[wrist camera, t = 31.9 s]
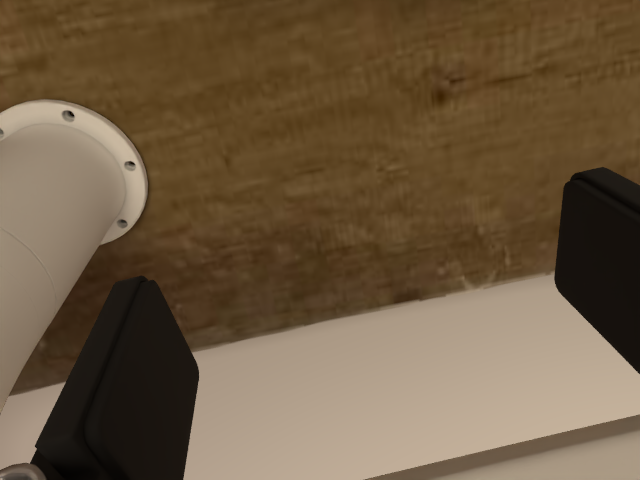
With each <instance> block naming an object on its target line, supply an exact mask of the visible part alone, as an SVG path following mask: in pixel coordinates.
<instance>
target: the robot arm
mask: <svg viewBox="0 0 640 480" xmlns="http://www.w3.org/2000/svg"><path fill="white" fill-rule="evenodd" d="M69 111H71V112H72V113H73V114H74V116H71V115H70V113H69ZM0 129H1V130H2V131H3V132H2V131H1V130H0V414H1V411H2V409H3V407H4V405H5V402H6V400H7V398H8V396H9V394H10V392H11V390H12V388H13V386H14V384H15V382H16V380H17V378H18V376H19V374H20V372H21V371H22V369H23V367H24V365H25V364H26V362H27V360H28V359H29V357H30V355H31V353H32V352H33V350H34V348H35V347H36V345H37V344H38V342H39V340H40V339H41V337H42V335H43V334H44V332H45V331H46V329H47V327H48V326H49V325H50V323H51V322H52V320H53V318H54V317H55V315H56V314H57V312H58V310H59V309H60V307H61V306H62V304H63V302H64V301H65V299H66V298H67V296H68V294H69V293H70V291H71V290H72V288H73V286H74V285H75V283H76V281H77V280H78V278H79V277H80V275H81V273H82V272H83V270H84V269H85V267H86V265H87V264H88V262H89V261H90V259H91V257H92V256H93V254H94V253H95V251H96V249H97V248H98V246H99V245H102V244H105V243H108V242H111V241H113V240H115V239H117V238H119V237H120V236H122V235H124V234H125V233H126V232H127V231H128V230H129V229H131V228H132V227H133V225H134V224H135V223H136V221H137V220H138V218H139V217H140V215H141V213H142V211H143V209H144V207H145V203H146V199H147V195H148V180H147V174H146V169H145V167H144V164H143V161H142V159H141V156H140V155H139V153H138V151H137V150H136V148H135V146H134V145H133V143H132V142H131V141H130V140H129V139H128V137H127V136H126V135H125V134H124V133H123V132H122V131H121V130H120V129H119V128H118V127H116V126H115V125H114V124H113V123H112V122H111V121H109V120H108V119H106V118H105V117H103V116H101V115H100V114H98V113H96V112H95V111H93V110H90V109H88V108H85V107H83V106H80V105H78V104H74V103H70V102H65V101H61V100H47V99H42V100H34V101H27V102H24V103H21V104H18V105H15V106H13V107H11V108H9V109H7V110H5V111H3V112H1V113H0ZM130 161H132V162H134V164H135V165H132V164H131V163H130ZM122 219H123V220H125V221H123V220H122ZM555 284H556V287H557V289H558V291H559V292H560V293H561V295H562V296H563V297H565V299H566V300H567V301H568V302H569V303H570V304H571V305H572V306H573V307H574V308H575V309H576V310H577V311H578V312H579V313H580V314H581V315H582V316H583V317H584V318H585V319H586V320H587V321H588V322H589V323H590V324H591V325H592V326H593V327H594V328H595V329H596V330H597V331H598V332H599V333H600V334H601V335H602V336H603V337H604V338H605V339H606V340H607V341H608V342H609V343H610V344H611V345H612V346H613V347H614V348H615V349H616V350H617V351H618V353H620V354H621V355H622V356H623V358H625V360H626V361H628V362H629V364H630V365H631V366H632V367H633V368H634V369H635V370H636V371H637V372H638V373H639V374H640V185H638V184H636V183H634V182H632V181H630V180H628V179H626V178H624V177H623V176H621V175H619V174H617V173H615V172H613V171H611V170H609V169H607V168H604V167H601V168H596V169H592V170H587V171H583V172H579V173H575V174H574V175H573V176H572V177H571V179H570V181H569V182H567V183H566V184H565V186H564V190H563V200H562V210H561V219H560V229H559V239H558V248H557V258H556V268H555ZM198 381H199V370H198V366H197V363H196V361H195V359H194V357H193V355H192V353H191V351H190V349H189V346H188V344H187V342H186V340H185V338H184V336H183V334H182V332H181V330H180V328H179V326H178V324H177V322H176V320H175V318H174V316H173V314H172V312H171V310H170V308H169V306H168V304H167V302H166V300H165V298H164V296H163V294H162V292H161V290H160V288H159V286H158V284H157V283H156V282H155V281H154V280H150V281H148V280H147V278H146V277H144V276H139V277H134V278H130V279H126V280H122V281H118V282H116V283H115V284H114V285H113V287H112V289H111V291H110V294H109V296H108V298H107V300H106V302H105V304H104V306H103V308H102V310H101V312H100V314H99V316H98V318H97V320H96V322H95V324H94V326H93V328H92V330H91V332H90V334H89V336H88V338H87V340H86V342H85V345H84V347H83V349H82V351H81V353H80V355H79V357H78V359H77V361H76V363H75V365H74V367H73V369H72V371H71V373H70V375H69V377H68V379H67V381H66V383H65V385H64V388H63V389H62V391H61V394H60V396H59V398H58V400H57V402H56V404H55V406H54V408H53V410H52V412H51V414H50V416H49V418H48V420H47V422H46V424H45V426H44V428H43V430H42V432H41V434H40V436H39V438H38V440H37V443H36V445H35V447H36V448H37V450H36V452H35V454H34V456H33V458H32V460H31V462H30V464H28V463H22V464H16V465H11V466H9V467H6V468H4V469H2V470H0V480H183V477H184V471H185V465H186V458H187V451H188V445H189V439H190V433H191V426H192V420H193V413H194V407H195V399H196V394H197V387H198ZM365 480H640V415H636V416H632V417H627V418H623V419H619V420H615V421H610V422H606V423H601V424H597V425H593V426H588V427H584V428H580V429H575V430H571V431H567V432H562V433H558V434H554V435H550V436H546V437H541V438H537V439H533V440H529V441H525V442H520V443H516V444H512V445H507V446H503V447H499V448H495V449H491V450H486V451H482V452H478V453H474V454H470V455H465V456H461V457H457V458H453V459H448V460H444V461H440V462H436V463H432V464H428V465H423V466H419V467H415V468H411V469H407V470H402V471H399V472H394V473H390V474H385V475H381V476H377V477H373V478H369V479H365Z"/></svg>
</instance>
